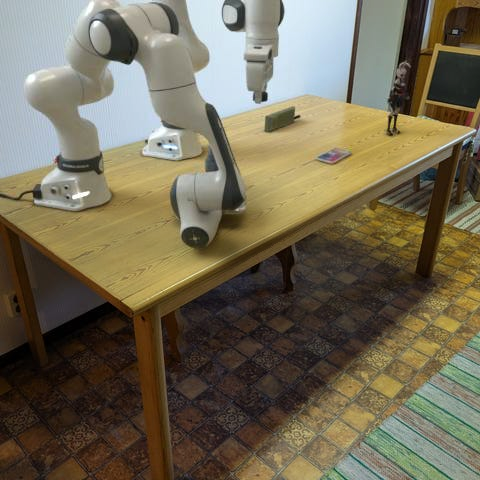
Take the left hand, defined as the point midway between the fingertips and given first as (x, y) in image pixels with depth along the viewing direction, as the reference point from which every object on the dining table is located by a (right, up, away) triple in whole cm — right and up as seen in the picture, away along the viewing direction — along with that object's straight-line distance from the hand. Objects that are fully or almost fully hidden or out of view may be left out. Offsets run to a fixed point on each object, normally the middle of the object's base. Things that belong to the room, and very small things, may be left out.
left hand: (214, 189), depth 149 cm
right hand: (+13, +24, -7) cm, 28 cm away
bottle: (0, -5, +2) cm, 5 cm away
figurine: (+71, +30, +66) cm, 102 cm away
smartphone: (+42, +16, +40) cm, 60 cm away
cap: (+13, +26, -7) cm, 30 cm away
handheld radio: (+26, +36, +74) cm, 86 cm away
